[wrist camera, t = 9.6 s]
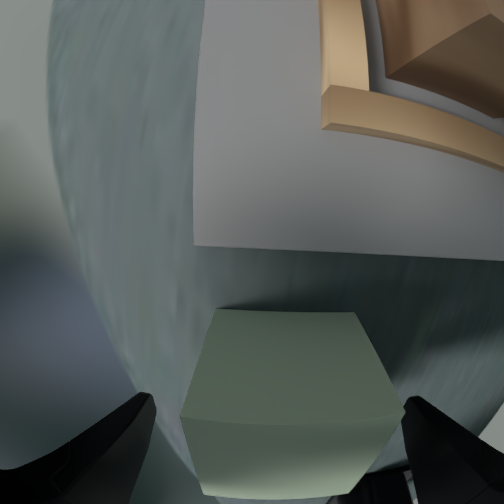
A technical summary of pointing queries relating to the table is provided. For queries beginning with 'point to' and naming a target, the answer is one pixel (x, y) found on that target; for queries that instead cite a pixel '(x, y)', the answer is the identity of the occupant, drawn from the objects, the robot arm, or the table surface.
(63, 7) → the table surface
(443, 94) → the walnut block
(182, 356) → the table surface
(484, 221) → the baseplate
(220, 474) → the sage block
